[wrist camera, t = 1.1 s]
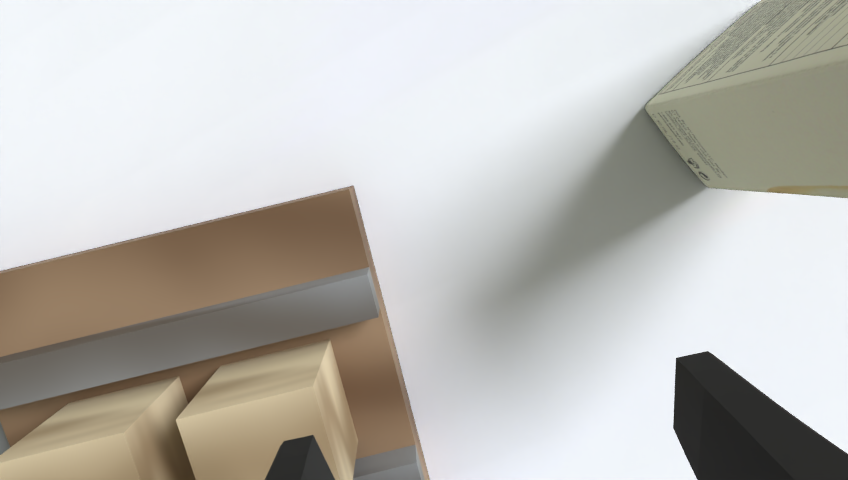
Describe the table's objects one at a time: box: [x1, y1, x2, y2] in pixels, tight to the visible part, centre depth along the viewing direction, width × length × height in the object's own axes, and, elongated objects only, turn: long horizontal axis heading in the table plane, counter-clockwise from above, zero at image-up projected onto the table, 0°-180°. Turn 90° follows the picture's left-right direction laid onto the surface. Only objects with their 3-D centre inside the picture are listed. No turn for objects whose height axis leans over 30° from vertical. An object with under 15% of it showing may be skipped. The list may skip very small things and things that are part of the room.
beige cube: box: [0, 376, 196, 480], centre depth 18 cm, size 4×4×4 cm
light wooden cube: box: [176, 339, 358, 480], centre depth 18 cm, size 4×4×4 cm
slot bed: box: [0, 186, 430, 480], centre depth 20 cm, size 14×14×3 cm
